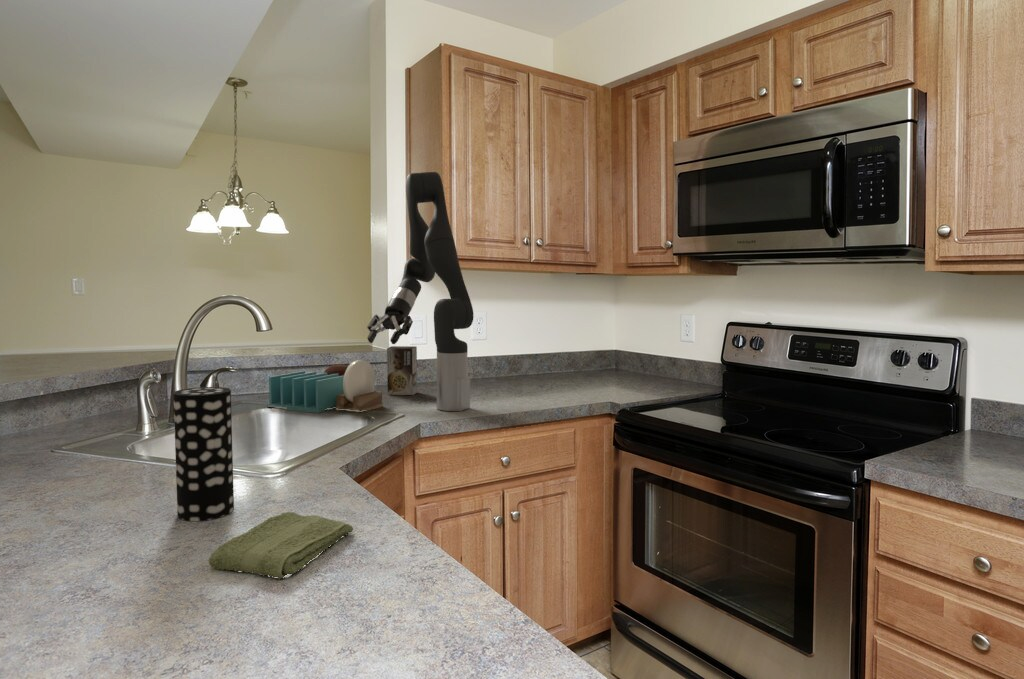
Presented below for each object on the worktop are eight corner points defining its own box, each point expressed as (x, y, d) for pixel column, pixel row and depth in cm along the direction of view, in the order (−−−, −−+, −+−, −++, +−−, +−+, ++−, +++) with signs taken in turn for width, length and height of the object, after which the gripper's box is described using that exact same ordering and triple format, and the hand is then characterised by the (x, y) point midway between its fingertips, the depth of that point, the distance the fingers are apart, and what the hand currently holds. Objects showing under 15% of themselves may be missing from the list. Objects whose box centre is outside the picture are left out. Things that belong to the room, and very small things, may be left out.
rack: (352, 403, 200) (352, 374, 199) (318, 412, 185) (317, 381, 184) (303, 398, 207) (303, 370, 207) (267, 407, 193) (266, 377, 192)
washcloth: (357, 534, 97) (357, 513, 97) (287, 586, 80) (286, 562, 80) (282, 524, 101) (282, 505, 100) (200, 573, 84) (199, 549, 83)
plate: (375, 400, 198) (374, 358, 197) (348, 407, 186) (348, 363, 185) (369, 399, 199) (369, 358, 198) (343, 406, 187) (342, 362, 186)
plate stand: (382, 406, 196) (382, 391, 196) (360, 412, 186) (360, 397, 186) (358, 404, 200) (358, 389, 199) (335, 410, 189) (335, 395, 189)
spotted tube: (241, 503, 109) (238, 387, 107) (221, 521, 101) (217, 395, 99) (192, 503, 109) (188, 386, 107) (167, 521, 100) (163, 395, 99)
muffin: (316, 393, 218) (315, 364, 217) (346, 390, 225) (346, 362, 224) (331, 398, 208) (330, 368, 208) (362, 395, 216) (362, 365, 215)
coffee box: (417, 392, 222) (417, 346, 221) (413, 395, 216) (412, 348, 215) (392, 391, 223) (391, 345, 222) (386, 394, 217) (386, 347, 215)
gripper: (378, 296, 211) (357, 333, 202) (415, 297, 205) (395, 335, 196) (387, 311, 216) (367, 348, 207) (423, 313, 211) (404, 350, 201)
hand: (380, 341), depth 201 cm, fingers open, 8 cm apart
